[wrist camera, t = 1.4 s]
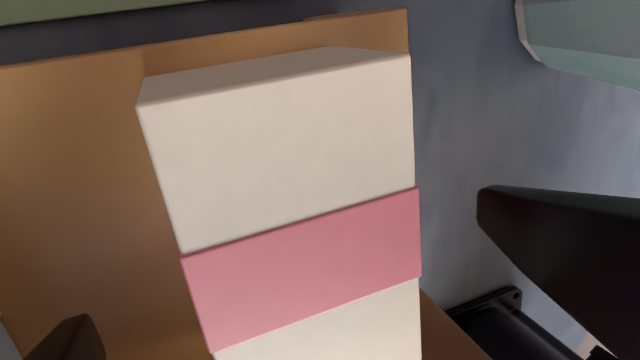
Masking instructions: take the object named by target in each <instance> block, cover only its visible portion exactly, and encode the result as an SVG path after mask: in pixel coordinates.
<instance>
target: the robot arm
mask: <svg viewBox="0 0 640 360" xmlns="http://www.w3.org/2000/svg"><path fill="white" fill-rule="evenodd" d="M476 218H477V223H478V225H479V227H480V228H481V229H482V230H483V231H484V232H485V233H486V235H487V236H488V237H489V238H490V239H491V240H492V241H493V242H494V243H495V244H496V245H497V246H498V247H499V249H500V250H501V251H502V252H503V253H504V254H505V255H506V256H507V257H508V258H509V259H510V260H511V261H512V263H513V264H514V265H515V266H516V267H517V268H518V269H519V270H520V271H521V272H522V273H523V274H525V275H526V276H527V277H528V278H529V279H530V280H531V281H532V282H533V283H534V284H536V285H537V286H538V287H539V288H540V289H541V290H542V291H543V292H545V293H546V294H547V295H548V296H549V297H550V298H551V299H552V300H553V301H555V302H556V303H557V304H558V305H559V306H560V307H561V308H562V309H564V310H565V311H566V312H567V313H568V314H569V315H570V316H571V317H572V318H574V319H575V320H576V321H577V322H578V323H579V324H580V325H581V326H583V327H584V328H585V329H586V330H587V331H588V332H589V333H590V334H592V335H593V336H594V337H595V338H596V339H597V340H598V341H599V342H600V343H602V344H603V345H604V346H605V347H606V348H607V349H608V350H609V351H610V352H612V353H613V354H614V355H615V356H616V357H617V358H616V357H615V356H613V355H612V354H610V353H609V352H607V351H606V350H604V349H603V348H601V347H600V346H598V345H596V346H595V347H594V348H593V349H592V350H591V351H590V354H591V355H590V356H589V357H588V358H587V359H586V360H640V199H639V198H629V197H618V196H608V195H597V194H587V193H577V192H566V191H556V190H545V189H535V188H525V187H514V186H504V185H491V186H487V187H484V188H481V189H480V190H479V191H478V193H477V215H476ZM521 300H522V291H521V289H519V288H518V287H516V286H514V285H513V286H510V287H507V288H505V289H503V290H500V291H498V292H495V293H493V294H490V295H488V296H485V297H483V298H481V299H478V300H476V301H473V302H471V303H468V304H466V305H463V306H461V307H458V308H456V309H454V310H451V311H449V312H446V314H447V315H448V316H449V317H450V318H451V319H452V320H453V321H454V322H455V323H456V324H457V325H458V326H459V327H460V328H461V329H462V330H463V331H464V332H465V333H466V334H467V335H468V336H469V337H470V338H471V339H472V340H473V341H474V342H475V343H476V344H477V345H478V346H479V347H480V348H481V349H482V350H483V351H484V352H485V353H486V354H487V355H488V356H489V357H490V358H491V359H492V360H584V359H582V358H581V357H580V356H578V355H577V354H576V353H575V352H573V351H572V350H571V349H570V348H568V347H567V346H566V345H564V344H563V343H562V342H560V341H559V340H558V339H557V338H555V337H554V336H553V335H551V334H550V333H549V332H548V331H546V330H545V329H544V328H542V327H541V326H540V325H539V324H537V323H536V322H535V321H533V320H532V319H531V318H530V317H528V316H527V315H526V314H524V313H523V312H522V311H521ZM22 360H106V352H105V348H104V345H103V342H102V340H101V338H100V336H99V334H98V331H97V329H96V327H95V325H94V322H93V320H92V318H91V317H90V316H89V315H88V314H86V313H83V314H80V315H76V316H73V317H70V318H67V319H64V320H62V321H61V322H60V323H59V324H58V325H57V326H56V327H55V328H54V329H53V330H52V331H51V332H50V333H49V334H48V335H47V336H46V337H45V338H44V339H43V340H42V341H41V342H39V343H38V344H37V345H36V346H35V347H34V348H33V349H32V350H31V351H30V352H29V353H28V354H27V355H26V356H25V357H24V358H23V359H22Z"/></svg>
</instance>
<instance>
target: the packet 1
mask: <svg viewBox="0 0 640 360" xmlns="http://www.w3.org/2000/svg"><path fill="white" fill-rule="evenodd" d="M0 315H1V313H0ZM22 359H23V358H22V357H21V355H20V353H19V351H18V350H17V348H16V346H15V344H14V343H13V341H12V339H11V337H10V336H9V334H8V332H7V330H6V329H5V327H4V325H3V323H2V322H1V320H0V360H22Z"/></svg>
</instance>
